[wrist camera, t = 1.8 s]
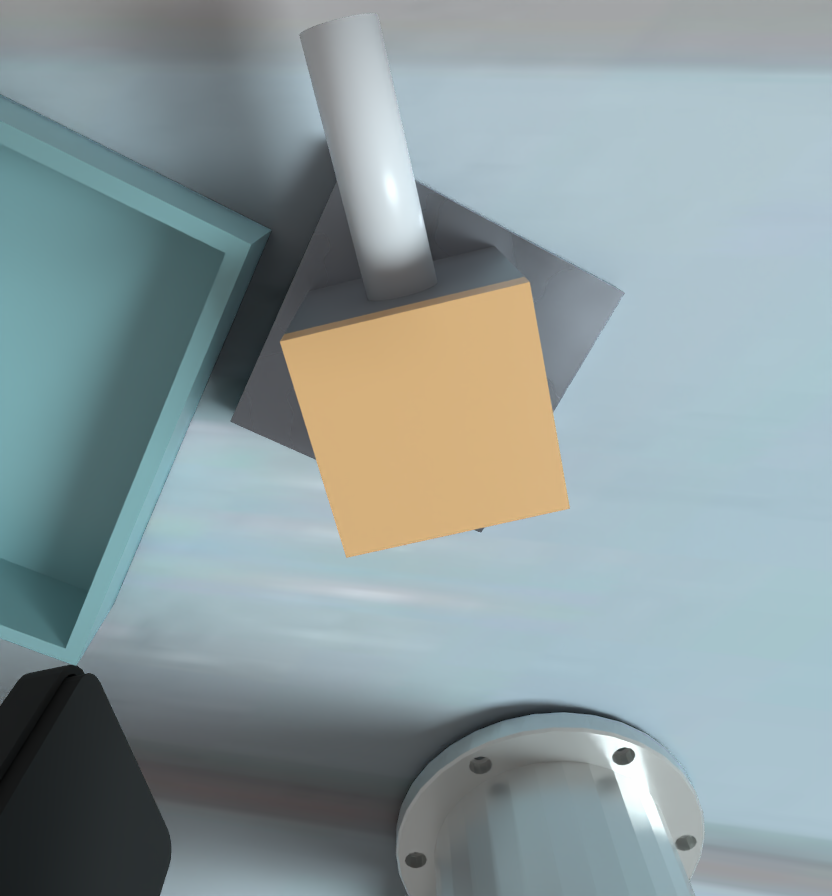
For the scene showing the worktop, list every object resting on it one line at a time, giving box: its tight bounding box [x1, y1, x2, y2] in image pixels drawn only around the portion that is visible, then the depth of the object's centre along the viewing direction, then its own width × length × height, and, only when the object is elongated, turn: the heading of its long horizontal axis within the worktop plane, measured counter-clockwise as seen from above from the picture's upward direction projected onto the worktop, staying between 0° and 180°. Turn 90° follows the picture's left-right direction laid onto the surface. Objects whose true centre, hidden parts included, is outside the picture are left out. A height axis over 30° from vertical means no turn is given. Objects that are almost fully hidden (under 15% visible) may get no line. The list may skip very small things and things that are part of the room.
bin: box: [0, 94, 271, 665], centre depth 23 cm, size 15×11×4 cm
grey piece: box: [230, 180, 624, 533], centre depth 22 cm, size 9×9×6 cm
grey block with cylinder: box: [280, 13, 570, 558], centre depth 19 cm, size 12×6×6 cm, turn 13°
